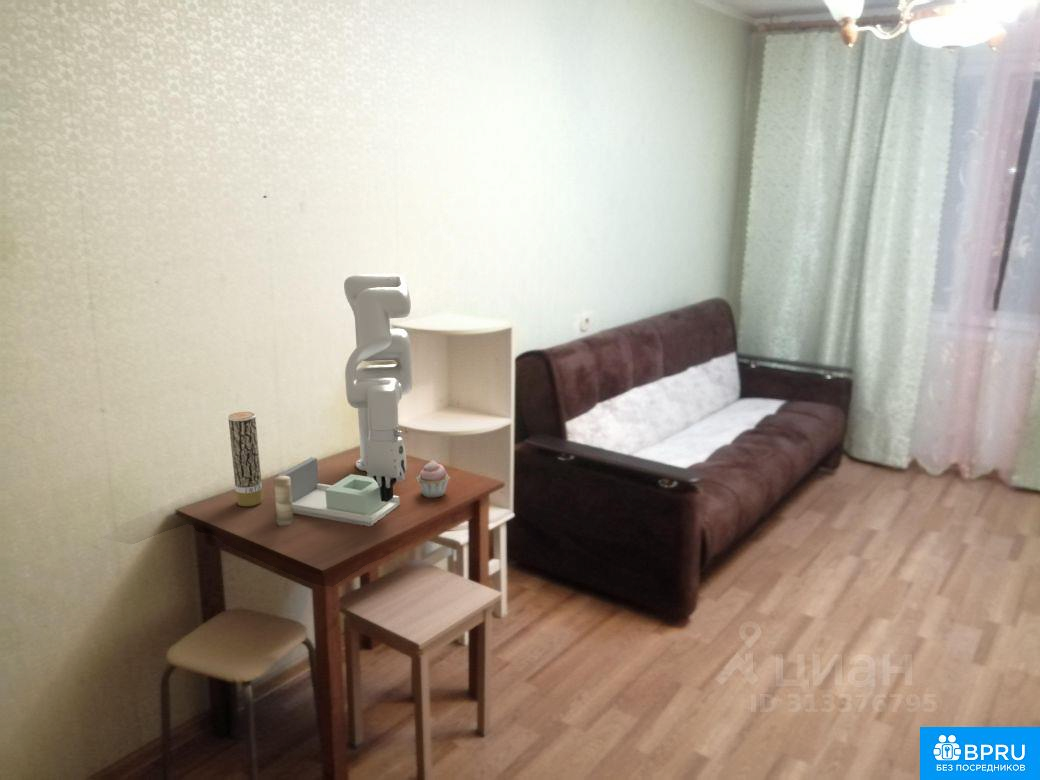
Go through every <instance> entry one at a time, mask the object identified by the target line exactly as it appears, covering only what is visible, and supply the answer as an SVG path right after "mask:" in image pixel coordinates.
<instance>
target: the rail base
mask: <svg viewBox="0 0 1040 780" xmlns="http://www.w3.org/2000/svg"><path fill="white" fill-rule="evenodd" d="M278 476H289V477H290V482H291V496H292V510H293V514H295V515H301V516H302V515H303V516H308V517H312V518H313V517H314V518H319V519H325V520H331V521H336V522H342V523H346V524H347V523H348V524H353V525H358V524H359V525H358V526H363V525H365V526H364V527H369V526H370V527H372V526H373V525H374V523H375V524H376V523H377V522H378V520H379V521H380V520H381V519H383V518H384V517H385V516H387V515H388V514H389V513H391V512H392V511H393V510H395V509H396V508H397V507H399V506H400V495H399V496H398V495H394V494H393V498H392V499H391V500H390V501H389V502H388V503H386V504H385V505H383V506H382V507H381V508H379V509H378V510H376V511H375V512H374V513H372V514H371V515H370V516H368V515H362V514H356V513H351V512H345V511H339V510H333V509H328V508H327V505H326V491H325V490H326V489H327V488H329V487H331V486H332V485H330V484H326V483H325V484H324V483H319V471H318V458H317V457H309V458H307V459H305V460H303V461H301V462H300V463H297V464H296V465H294V466H292V467H290V468H288V469H286V470H284V471H282V472H281V473H279V474H277V475H276V477H278ZM398 505H399V506H398ZM386 514H387V515H386Z"/></svg>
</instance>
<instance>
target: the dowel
mask: <svg viewBox="0 0 1040 780" xmlns="http://www.w3.org/2000/svg"><path fill="white" fill-rule="evenodd" d="M273 484H274V485H273V486H274V498H275V509H276V523H277V525H279V526H288V525H289V526H290V525H291V524H293V523H294V513H293V510H292V496H291V482H290V477H289V476H278V477H277V476H276V477H274V478H273Z"/></svg>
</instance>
